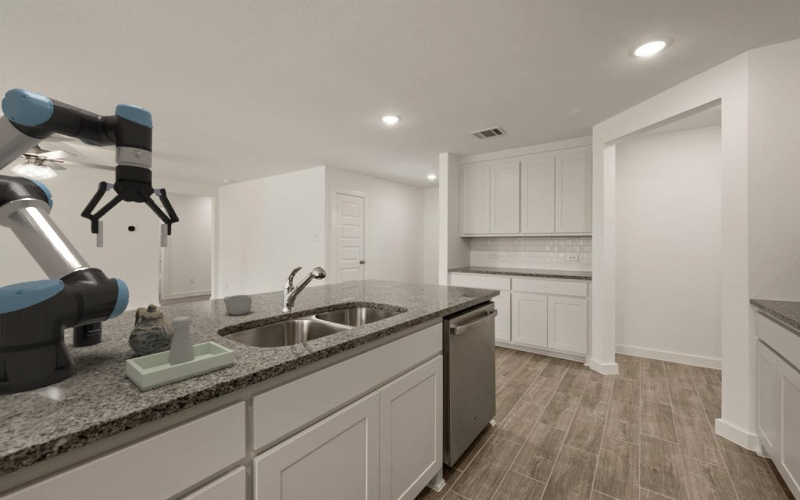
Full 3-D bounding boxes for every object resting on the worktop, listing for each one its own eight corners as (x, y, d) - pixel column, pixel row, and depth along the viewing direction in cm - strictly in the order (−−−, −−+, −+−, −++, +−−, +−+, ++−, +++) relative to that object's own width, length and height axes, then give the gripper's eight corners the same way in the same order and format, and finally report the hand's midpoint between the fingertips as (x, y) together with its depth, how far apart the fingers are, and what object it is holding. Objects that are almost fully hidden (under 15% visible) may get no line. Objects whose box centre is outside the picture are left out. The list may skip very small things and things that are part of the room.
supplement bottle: (96, 345, 104) (95, 308, 104) (68, 348, 102) (67, 309, 101) (106, 339, 110) (105, 304, 110) (79, 341, 108) (79, 305, 108)
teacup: (256, 313, 151) (256, 296, 151) (234, 318, 142) (234, 299, 142) (239, 309, 159) (238, 293, 158) (216, 313, 150) (216, 296, 149)
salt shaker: (162, 371, 82) (162, 319, 82) (178, 362, 88) (177, 314, 88) (185, 371, 82) (185, 320, 82) (199, 363, 88) (199, 314, 88)
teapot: (193, 355, 96) (193, 304, 96) (147, 368, 86) (146, 311, 86) (158, 343, 107) (157, 297, 107) (113, 353, 97) (112, 303, 97)
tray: (143, 391, 73) (142, 374, 73) (125, 375, 82) (125, 360, 82) (234, 365, 89) (233, 351, 89) (211, 353, 98) (211, 341, 97)
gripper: (70, 154, 75) (70, 247, 76) (192, 173, 94) (191, 247, 95) (65, 158, 79) (65, 246, 80) (182, 176, 99) (181, 246, 100)
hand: (133, 247), depth 88 cm, fingers open, 13 cm apart
